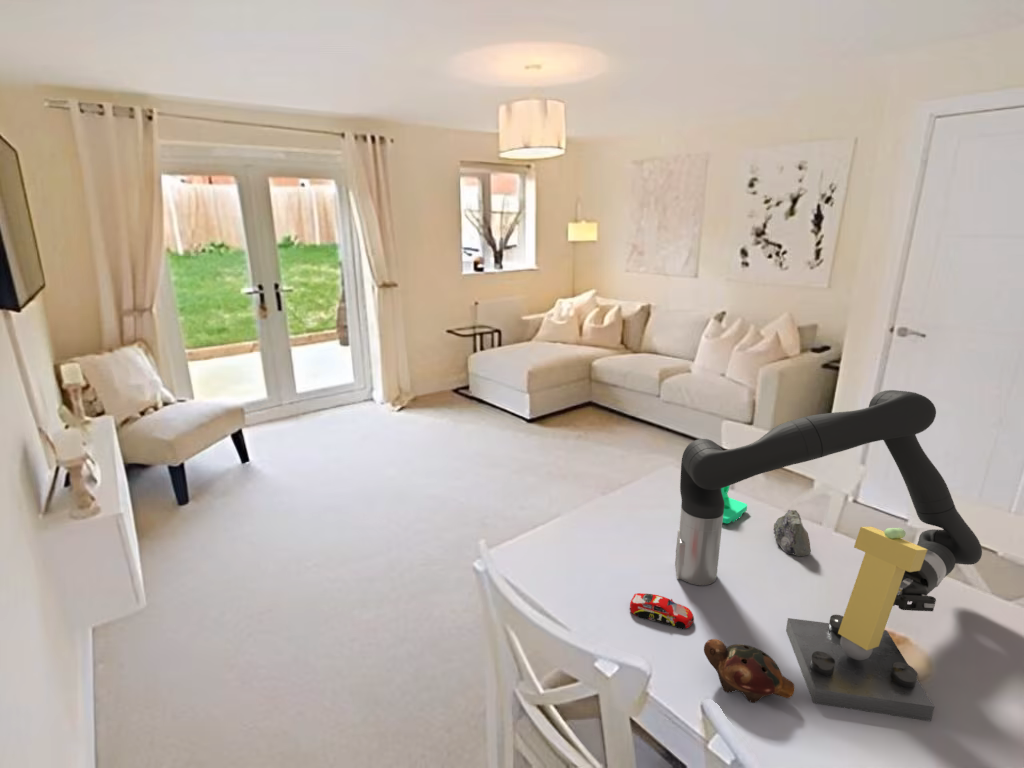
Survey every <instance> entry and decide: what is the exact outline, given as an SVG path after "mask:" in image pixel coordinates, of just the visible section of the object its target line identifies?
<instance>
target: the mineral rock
mask: <svg viewBox="0 0 1024 768" xmlns="http://www.w3.org/2000/svg"><path fill="white" fill-rule="evenodd" d="M773 534H774V538H775V542H776V543H777V544H778V545H779V546H780V548H781V549H782V551H783V552H785V553H786V554H788V555H795V556H797V557H803V556H809V555H810V554H811V552H812V549H811V542H810V537H809V533H808V531H807V530H806V529H805V527H804V525H803V522H802V518H801V515H800V513H799V512H798V510H797V509H791V510H790V509H788V510H787V512H786V513H785V514H784V515H782V516H780V517H778V518H777V519H776V521H775V522H774V523H773Z"/></svg>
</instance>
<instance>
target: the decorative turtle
mask: <svg viewBox="0 0 1024 768" xmlns="http://www.w3.org/2000/svg"><path fill="white" fill-rule="evenodd" d="M703 652H704V653H703V654H704V655H705V656H706V659H707V661H708V663H710V665H711V666H712V667H713V669H715V671H716V672H717V675H718V679H719V682H720V685H721V688H722V690H723V691H724V692H725V693H733V692H739V693H741V694H743V696H744V697H745V698H746V699H747V701H749V703H752V704H754V703H758V702H759V701H760V700H761V699H763V697H767V696H771V695H776V696H778V697H782V698H785V699H790V698H791V697H792V696H793V695H794V694H795V683H794V682H793V681H791V680H790V679H788V678H786V677H785V676H783V673H782V672H781V669H780V667H779V666H778V664H777V662H776V661H775V660H774V659H773V657H771V656H769V655H768V654H767V653H766V652H764V651H763V650H760V649H759V648H757V647H754V646H751V645H747V644H743V643H736V644H731V645H729V646H727V645H726V644H725V641H722V640H721V639H716V638H714V639H708V640H707V641H706V642H705V643H704V646H703Z"/></svg>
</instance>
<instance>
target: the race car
mask: <svg viewBox="0 0 1024 768" xmlns="http://www.w3.org/2000/svg"><path fill="white" fill-rule="evenodd" d="M629 611H630V613H631V614H633V615H634V616H636V617H637V616H638V618H639V619H643V620H648V621H649V620H650V621H652V622H657V623H660V624H664V625H669V626H672V627H676V628H677V629H681V630H684V629H688V628H691V627H692V625H693V624H694V622H695V617H694V616H695V615H694V614H693V612H692V611H691V610H690V608H688V607H687V606H685V605H683V604H679V603H677V602H675V601H673V598H668V597H665V596H661V595H659V594H653V593H641V592H640V593H634V594H633V596H632V598H631V600H630V603H629Z"/></svg>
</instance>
